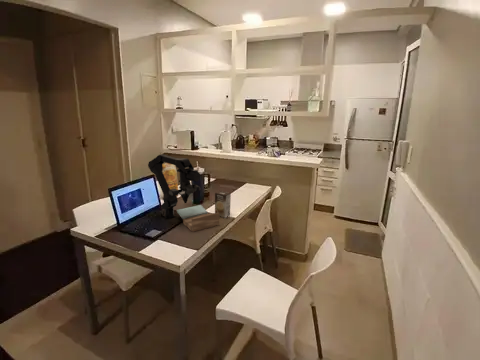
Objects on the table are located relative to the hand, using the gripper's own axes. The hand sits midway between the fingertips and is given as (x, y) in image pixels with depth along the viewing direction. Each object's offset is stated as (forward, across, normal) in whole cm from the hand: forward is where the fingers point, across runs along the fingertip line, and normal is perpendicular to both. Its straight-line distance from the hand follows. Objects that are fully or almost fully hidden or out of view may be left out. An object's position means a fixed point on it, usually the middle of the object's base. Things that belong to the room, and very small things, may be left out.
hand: (185, 203), depth 170 cm
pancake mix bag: (+12, +11, +49) cm, 51 cm away
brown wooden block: (+12, +5, -10) cm, 16 cm away
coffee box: (+12, +25, -5) cm, 28 cm away
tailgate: (+9, +6, -2) cm, 11 cm away
